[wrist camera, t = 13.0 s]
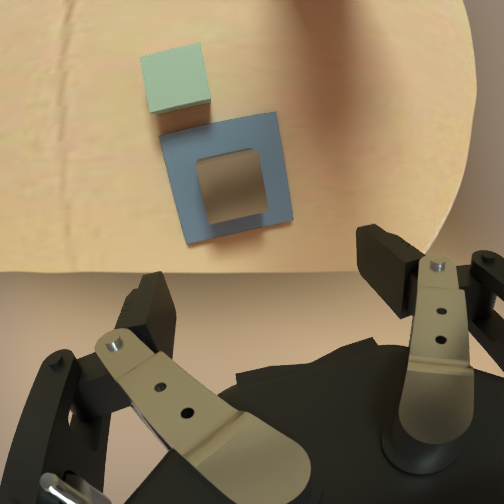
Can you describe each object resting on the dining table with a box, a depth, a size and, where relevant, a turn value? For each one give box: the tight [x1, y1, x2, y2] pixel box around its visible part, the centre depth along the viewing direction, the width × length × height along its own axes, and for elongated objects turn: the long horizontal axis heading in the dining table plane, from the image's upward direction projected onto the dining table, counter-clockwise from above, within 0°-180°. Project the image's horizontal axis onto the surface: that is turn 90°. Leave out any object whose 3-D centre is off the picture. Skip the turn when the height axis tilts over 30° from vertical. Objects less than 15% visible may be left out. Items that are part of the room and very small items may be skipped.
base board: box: [159, 112, 293, 244], centre depth 32 cm, size 12×12×1 cm
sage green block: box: [140, 43, 211, 115], centre depth 25 cm, size 6×6×5 cm
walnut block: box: [195, 148, 269, 225], centre depth 29 cm, size 6×6×5 cm
